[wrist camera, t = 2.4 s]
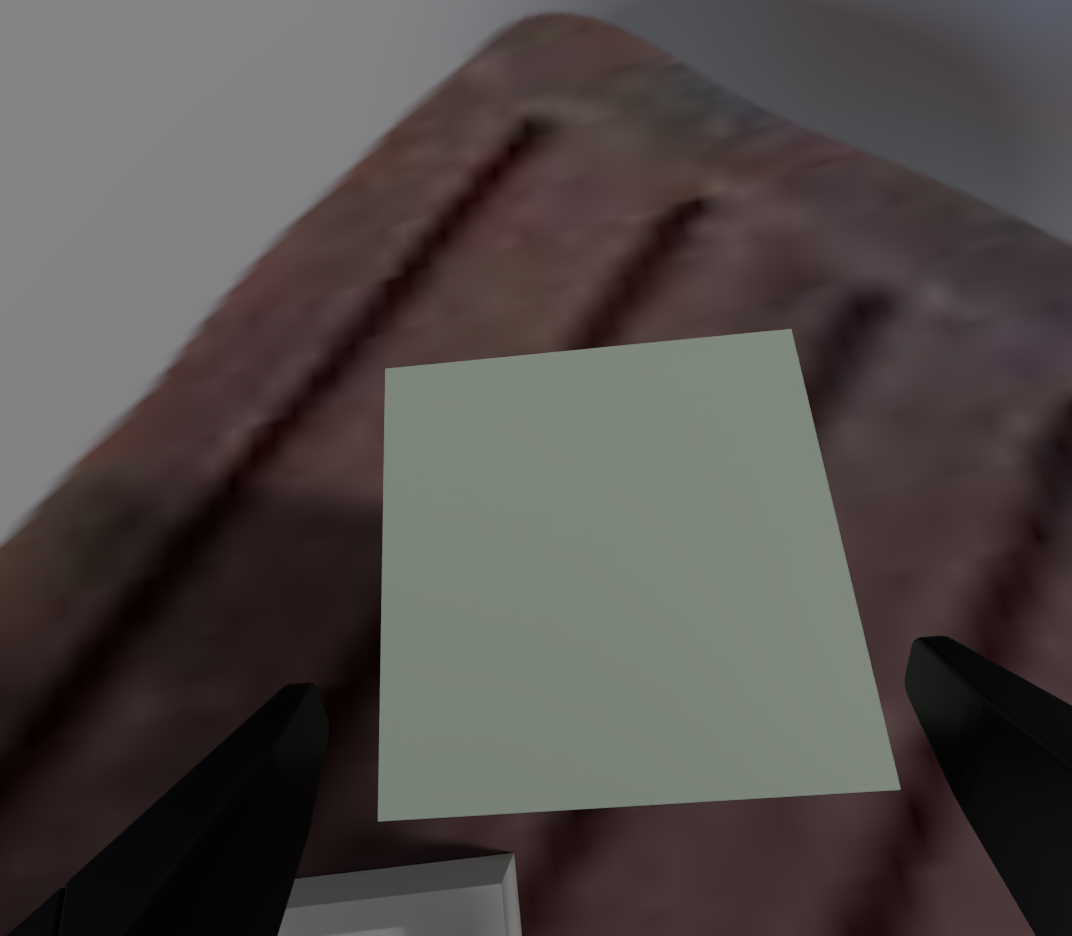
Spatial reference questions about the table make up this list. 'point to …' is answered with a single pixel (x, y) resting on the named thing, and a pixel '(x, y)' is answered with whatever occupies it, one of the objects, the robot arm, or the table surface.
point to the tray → (409, 901)
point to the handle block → (616, 586)
